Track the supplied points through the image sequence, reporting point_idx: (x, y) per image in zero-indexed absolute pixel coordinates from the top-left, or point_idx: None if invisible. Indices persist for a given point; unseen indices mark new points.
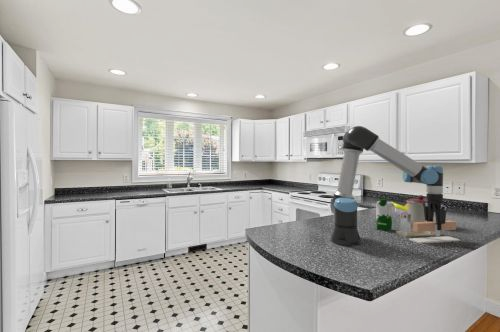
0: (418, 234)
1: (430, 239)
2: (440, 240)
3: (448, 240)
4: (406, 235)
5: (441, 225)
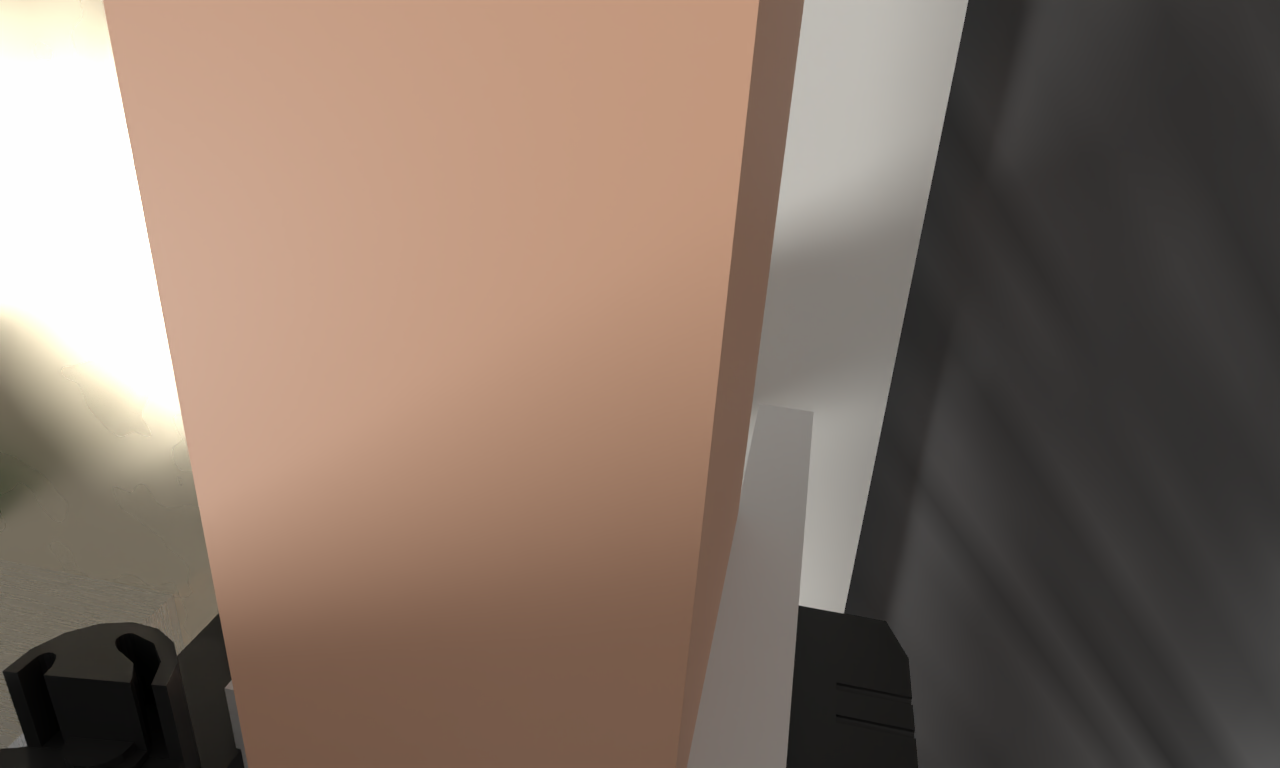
0: None
1: None
2: (851, 389)
3: (948, 89)
4: None
5: (722, 538)
